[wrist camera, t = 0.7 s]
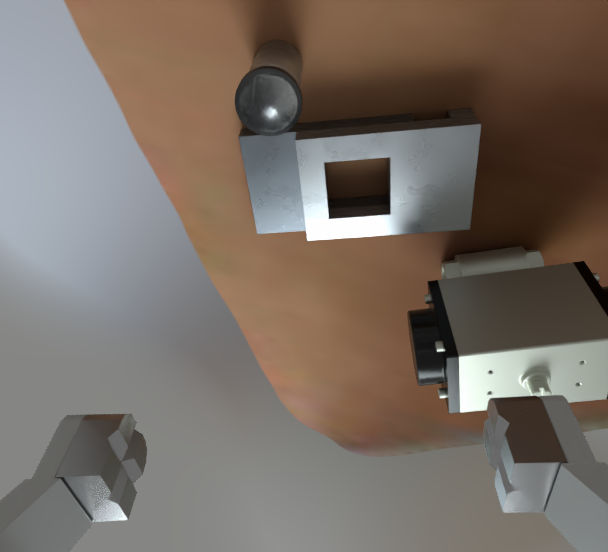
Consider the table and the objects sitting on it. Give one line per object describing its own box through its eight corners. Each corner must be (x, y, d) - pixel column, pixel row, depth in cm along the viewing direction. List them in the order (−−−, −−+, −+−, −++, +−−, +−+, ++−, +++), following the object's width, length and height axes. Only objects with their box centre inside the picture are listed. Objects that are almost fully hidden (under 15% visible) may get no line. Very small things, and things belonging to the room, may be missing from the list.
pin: (245, 39, 41) (228, 72, 34) (302, 33, 40) (298, 65, 33) (255, 96, 44) (241, 138, 37) (308, 91, 43) (305, 133, 36)
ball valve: (402, 305, 57) (426, 442, 43) (395, 244, 52) (420, 377, 38) (570, 284, 55) (654, 423, 41) (581, 217, 50) (680, 350, 36)
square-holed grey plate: (241, 128, 45) (235, 145, 43) (471, 108, 44) (481, 123, 41) (259, 224, 51) (255, 244, 49) (461, 209, 50) (469, 229, 47)
